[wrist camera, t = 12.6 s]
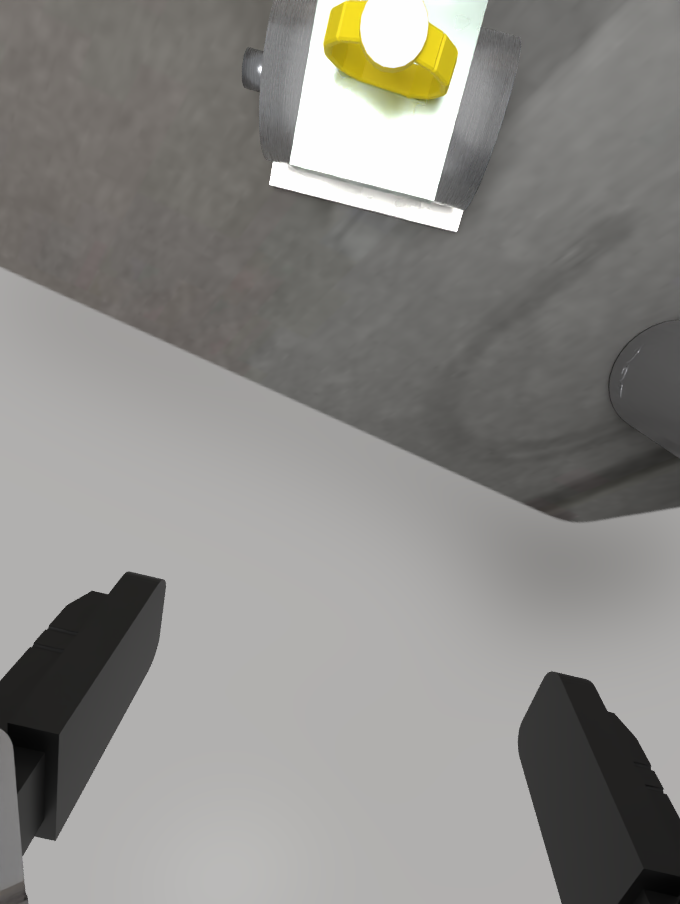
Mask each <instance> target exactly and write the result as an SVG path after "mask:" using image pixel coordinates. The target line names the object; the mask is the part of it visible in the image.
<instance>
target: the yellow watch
mask: <svg viewBox="0 0 680 904" xmlns="http://www.w3.org/2000/svg"><path fill="white" fill-rule="evenodd" d="M323 48H324V54H325V56H326V57H327V58H328V59H329V60H330V61H331V62H332V63H333V65H334V66H335V67H336V68H338V69H339V70H340V71H342V72H344V73H345V74H347V75H349V76H350V77H352V78H354V79H355V80H357V81H361V82H364V83H367V84H370V85H373V86H376V87H379V88H382V89H385V90H388V91H391V92H394V93H397V94H400V95H404V96H407V97H406V98H409V99H410V98H412V99H427V100H430V99H435V98H438V97H441V96H444V95H445V94H447V92H448V89H449V85H450V82H451V79H452V76H453V73H454V69H455V66H456V63H457V57H458V50H457V48H456V46H455V45H454V44H453V43H452V41H451V40H450V39H449V37H448V36H447V35H446V33H443V31H442V30H440V29H439V28H437V27H436V26H434V25H433V24H431V23H430V22H429V21H428V12H427V9H426V7H425V4H424V2H423V0H367V1H365V0H349V1H345V2H343V3H341V4H339V5H337V6H335V7H333V8H332V9H331V11H330V15H329V19H328V24H327V28H326V33H325V37H324V41H323ZM414 63H416V64H414ZM417 64H418V65H417Z"/></svg>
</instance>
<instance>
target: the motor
mask: <svg viewBox="0 0 680 904" xmlns="http://www.w3.org/2000/svg"><path fill="white" fill-rule="evenodd" d="M345 1H349V0H274V2H273V6H272V10H271V14H270V18H269V23H268V28H267V33H266V39H265V46H264V51H261V50H257V49H253V48H249V47H248V48H247V49H246V51H245V54H244V58H243V65H242V82H243V86H244V88H246V89H250V90H254V91H258V92H260V97H259V131H260V142H261V148H262V152H263V155H264V157H265V159H266V160H268V161H271V162H273V166H272V172H271V179H270V185H271V186H273V187H275V188H279V189H283V190H287V191H291V192H295V193H299V194H303V195H307V196H311V197H315V198H319V199H323V200H327V201H331V202H335V203H339V204H343V205H347V206H351V207H354V208H358V209H362V210H366V211H370V212H374V213H378V214H382V215H386V216H390V217H394V218H398V219H402V220H406V221H410V222H414V223H418V224H422V225H426V226H430V227H434V228H438V229H441V230H445V231H449V232H453V233H454V232H457V230H458V226H459V223H460V219H461V216H462V213H463V210H466V209H467V207H468V206H469V204H470V203H471V201H472V199H473V197H474V195H475V193H476V191H477V189H478V187H479V184H480V182H481V180H482V177H483V175H484V172H485V170H486V167H487V165H488V162H489V160H490V157H491V154H492V151H493V149H494V146H495V143H496V140H497V137H498V134H499V131H500V128H501V125H502V122H503V118H504V115H505V112H506V109H507V105H508V102H509V98H510V95H511V91H512V87H513V83H514V79H515V75H516V71H517V67H518V62H519V56H520V50H521V38H520V37H519V36H515V35H511V34H507V33H503V32H500V31H496V30H492V29H488V28H484V27H481V24H482V21H483V17H484V13H485V10H486V6H487V2H488V0H423V2H424V4H425V7H426V9H427V12H428V21H429V22H430V23H431V24H433V25H434V26H436V27H437V28H439V29H440V30H442V31H443V33H446V35H447V36H448V37H449V39H450V40H451V41H452V43H453V44H454V45H455V46H456V48H457V50H458V57H457V63H456V66H455V69H454V73H453V76H452V79H451V82H450V85H449V89H448V92H447V94H445V95H444V96H441V97H438V98H435V99H430V100H427V99H412V98H410V99H409V98H406V97H407V96H404V95H400V94H397V93H394V92H391V91H388V90H385V89H382V88H379V87H376V86H373V85H370V84H367V83H364V82H361V81H357V80H355V79H354V78H352V77H350V76H349V75H347V74H345V73H344V72H342V71H340V70H339V69H338V68H336V67H335V66H334V65H333V63H332V62H331V61H330V60H329V59H328V58H327V57H326V56H325V54H324V48H323V41H324V37H325V33H326V28H327V24H328V19H329V15H330V11H331V9H332V8H333V7H335V6H337V5H339V4H341V3H343V2H345ZM365 1H367V0H365ZM414 64H416V63H414ZM417 65H418V64H417Z"/></svg>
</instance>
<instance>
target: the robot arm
mask: <svg viewBox="0 0 680 904" xmlns="http://www.w3.org/2000/svg"><path fill="white" fill-rule="evenodd" d="M609 392H610V399H611V402H612V404H613V407H614V409H615V411H616V412H617V413H618V415H619V416H620V418H622V419H623V420H624V421H625V422H627V423H628V424H629V425H630V426H632V427H633V428H635V429H636V430H638V431H639V432H641V433H642V434H644V435H645V436H647V437H648V438H650V439H651V440H653V441H654V442H656V443H657V444H659V445H660V446H662V447H663V448H665V449H666V450H668V451H669V452H671V453H672V454H674V455H675V456H677V457H678V458H680V320H675V321H669V322H664V323H661V324H658V325H656V326H653V327H651V328H649V329H647V330H645V331H644V332H642V333H640V334H639V335H638V336H637V337H635V338H634V339H633V340H632V341H631V342H630V343H629V344H628V345H627V346H626V347H625V348H624V350H623V351H622V352H621V353H620V355H619V357H618V358H617V360H616V362H615V364H614V366H613V369H612V373H611V376H610V384H609ZM165 589H166V582H165V580H163V579H159V578H155V577H150V576H146V575H142V574H138V573H133V572H126V573H125V574H124V575H123V576H122V578H121V579H120V580H119V581H118V583H117V584H116V585H115V586H114V588H113V589H112V590H111V591H110V593H109V594H104V593H99V592H95V591H91V592H89V593H88V594H86V595H84V596H82V597H81V598H79V599H77V600H75V601H74V602H72V603H70V604H68V605H67V606H66V607H65V608H64V609H63V610H62V611H61V613H60V614H59V615H58V616H57V617H56V618H55V619H54V621H53V622H52V623H51V624H50V625H49V628H48V629H47V630H45V631H44V632H43V633H42V634H41V635H40V637H39V638H38V639H37V640H36V641H35V642H34V645H33V647H30V648H29V649H28V650H27V651H26V652H25V653H24V655H23V656H22V657H21V658H20V659H19V660H18V661H17V662H16V664H15V665H14V666H13V667H12V668H11V669H10V670H9V672H8V673H7V674H6V675H5V676H4V677H3V678H2V679H1V681H0V904H28V898H27V895H26V893H25V884H24V873H23V861H22V856H23V855H24V853H25V851H26V850H27V848H28V846H29V844H30V843H31V841H32V839H33V838H34V836H36V837H40V838H45V839H49V840H54V841H56V839H57V837H58V835H59V833H60V831H61V830H62V828H63V826H64V824H65V822H66V821H67V819H68V817H69V815H70V813H71V811H72V810H73V808H74V806H75V804H76V802H77V800H78V799H79V797H80V795H81V793H82V791H83V789H84V788H85V786H86V784H87V782H88V780H89V778H90V777H91V775H92V773H93V771H94V769H95V767H96V766H97V764H98V762H99V760H100V758H101V756H102V754H103V753H104V751H105V749H106V747H107V745H108V743H109V742H110V740H111V738H112V736H113V734H114V733H115V731H116V729H117V727H118V725H119V724H120V722H121V720H122V718H123V716H124V714H125V713H126V711H127V709H128V707H129V705H130V703H131V702H132V700H133V698H134V696H135V694H136V692H137V691H138V689H139V687H140V685H141V683H142V681H143V679H144V678H145V676H146V674H147V672H148V670H149V668H150V666H151V664H152V661H153V659H154V656H155V653H156V649H157V646H158V642H159V637H160V628H161V621H162V613H163V605H164V597H165ZM518 750H519V756H520V760H521V763H522V767H523V770H524V774H525V778H526V781H527V785H528V788H529V791H530V795H531V798H532V802H533V805H534V809H535V812H536V816H537V819H538V822H539V826H540V830H541V833H542V837H543V840H544V843H545V847H546V850H547V854H548V857H549V861H550V864H551V867H552V871H553V875H554V878H555V882H556V885H557V889H558V892H559V895H560V899H561V903H562V904H680V818H679V816H678V814H677V813H676V811H675V809H674V807H673V805H672V803H671V801H670V800H669V798H668V796H667V794H664V793H663V787H662V785H661V783H660V781H659V779H658V777H657V776H656V774H655V772H654V771H652V770H651V765H650V763H649V761H648V759H647V757H646V755H645V753H644V751H643V750H642V748H641V746H640V744H639V742H638V740H637V739H636V738H635V736H634V735H633V734H632V733H631V732H630V731H629V729H628V728H627V727H626V726H625V725H624V724H623V723H622V722H621V720H620V719H619V718H618V717H617V716H616V715H615V714H614V713H611V712H608V711H607V710H606V708H605V706H604V704H603V702H602V700H601V698H600V696H599V694H598V692H597V690H596V688H595V686H594V685H593V683H592V682H591V681H589V680H587V679H583V678H578V677H574V676H570V675H565V674H561V673H557V672H549V673H547V674H546V676H545V677H544V679H543V681H542V683H541V685H540V687H539V689H538V691H537V693H536V695H535V697H534V699H533V701H532V703H531V705H530V707H529V709H528V711H527V713H526V715H525V717H524V719H523V721H522V723H521V726H520V729H519V735H518Z"/></svg>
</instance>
